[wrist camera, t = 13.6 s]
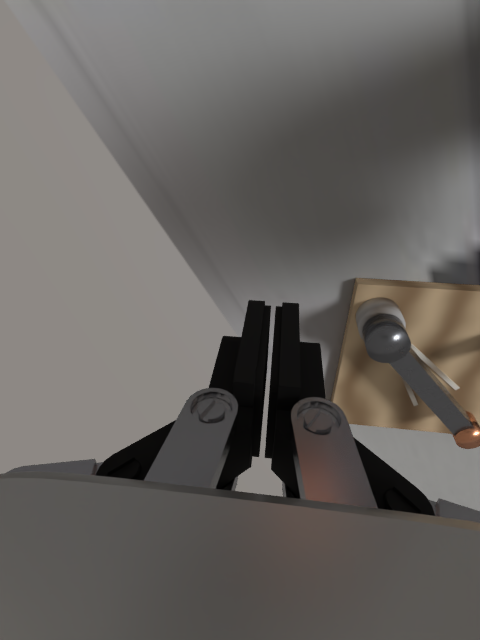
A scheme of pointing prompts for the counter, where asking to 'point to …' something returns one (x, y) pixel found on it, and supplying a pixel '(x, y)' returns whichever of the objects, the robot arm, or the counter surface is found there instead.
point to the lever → (418, 376)
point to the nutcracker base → (426, 340)
